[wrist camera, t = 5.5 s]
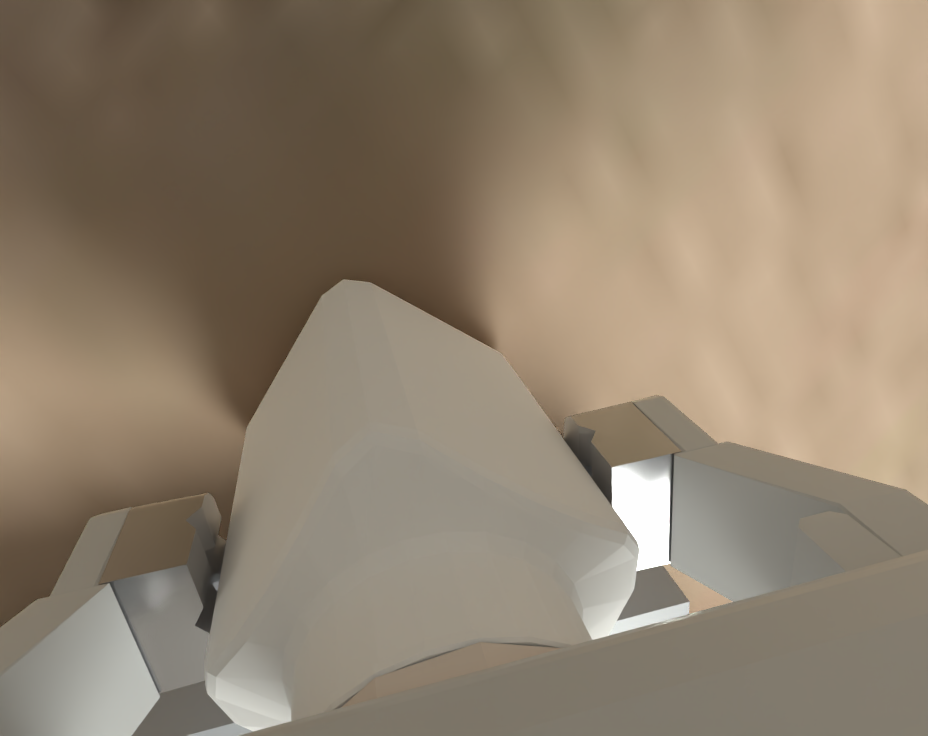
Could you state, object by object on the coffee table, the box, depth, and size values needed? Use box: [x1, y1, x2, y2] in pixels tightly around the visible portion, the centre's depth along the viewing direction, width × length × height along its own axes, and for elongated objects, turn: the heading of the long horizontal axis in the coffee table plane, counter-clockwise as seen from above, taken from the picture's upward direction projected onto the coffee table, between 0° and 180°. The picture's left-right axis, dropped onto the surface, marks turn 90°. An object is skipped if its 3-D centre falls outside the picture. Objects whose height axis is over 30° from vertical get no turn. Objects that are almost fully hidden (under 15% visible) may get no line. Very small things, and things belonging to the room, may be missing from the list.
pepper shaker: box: [205, 279, 640, 731], centre depth 8 cm, size 4×4×10 cm
